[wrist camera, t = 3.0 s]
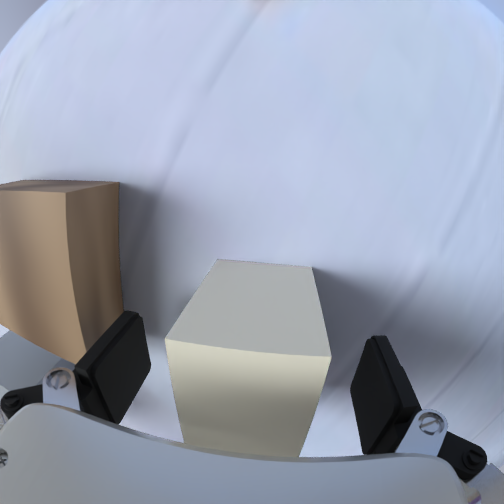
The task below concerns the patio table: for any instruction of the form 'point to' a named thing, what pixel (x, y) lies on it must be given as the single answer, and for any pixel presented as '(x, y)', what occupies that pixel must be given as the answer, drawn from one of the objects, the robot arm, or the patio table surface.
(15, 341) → the slate grey brick
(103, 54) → the patio table surface
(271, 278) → the cream brick
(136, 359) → the robot arm
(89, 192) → the walnut block
